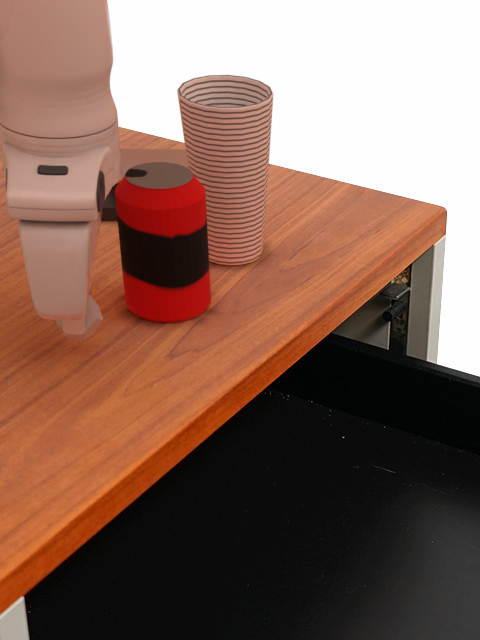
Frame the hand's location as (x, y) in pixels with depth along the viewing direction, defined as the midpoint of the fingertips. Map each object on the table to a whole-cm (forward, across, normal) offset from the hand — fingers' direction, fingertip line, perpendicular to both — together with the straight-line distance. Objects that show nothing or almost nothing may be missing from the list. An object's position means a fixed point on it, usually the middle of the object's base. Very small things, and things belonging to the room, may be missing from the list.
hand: (77, 316), depth 115 cm
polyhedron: (+2, 0, 0) cm, 2 cm away
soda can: (+3, -8, +7) cm, 12 cm away
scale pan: (0, -32, +4) cm, 32 cm away
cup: (+3, -19, +13) cm, 23 cm away
